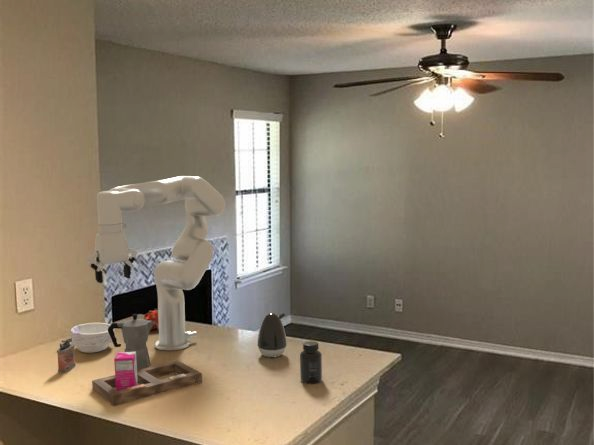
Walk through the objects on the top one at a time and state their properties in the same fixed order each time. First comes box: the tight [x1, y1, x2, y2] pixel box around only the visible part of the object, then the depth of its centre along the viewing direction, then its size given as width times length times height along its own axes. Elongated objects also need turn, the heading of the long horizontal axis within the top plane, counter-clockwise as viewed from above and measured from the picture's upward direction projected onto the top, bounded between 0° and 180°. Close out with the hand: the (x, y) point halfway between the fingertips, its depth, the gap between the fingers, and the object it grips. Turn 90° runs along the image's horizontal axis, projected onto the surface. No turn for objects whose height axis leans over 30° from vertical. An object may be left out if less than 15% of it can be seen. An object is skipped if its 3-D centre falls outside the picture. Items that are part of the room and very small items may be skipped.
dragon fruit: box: [143, 308, 159, 331], centre depth 262 cm, size 8×8×12 cm
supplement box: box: [113, 351, 139, 391], centre depth 196 cm, size 6×6×12 cm
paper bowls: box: [70, 322, 115, 354], centre depth 237 cm, size 15×15×8 cm
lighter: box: [56, 337, 76, 374], centre depth 216 cm, size 8×3×10 cm, turn 168°
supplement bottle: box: [299, 340, 323, 384], centre depth 205 cm, size 7×7×12 cm
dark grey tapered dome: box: [257, 312, 287, 358], centre depth 229 cm, size 10×10×15 cm
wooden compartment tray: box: [91, 359, 203, 407], centre depth 201 cm, size 29×16×3 cm, turn 129°
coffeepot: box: [108, 313, 155, 370], centre depth 217 cm, size 15×9×18 cm, turn 110°
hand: (113, 279), depth 216 cm, fingers open, 9 cm apart
